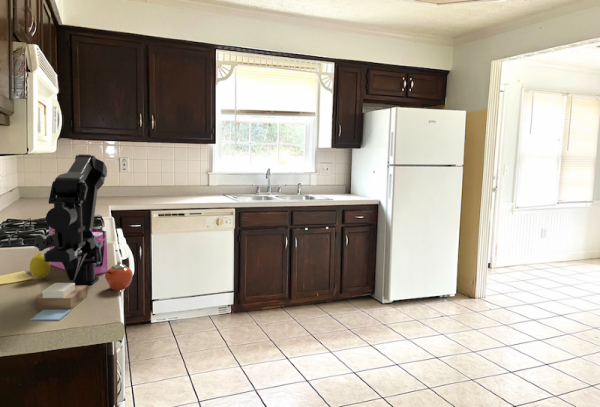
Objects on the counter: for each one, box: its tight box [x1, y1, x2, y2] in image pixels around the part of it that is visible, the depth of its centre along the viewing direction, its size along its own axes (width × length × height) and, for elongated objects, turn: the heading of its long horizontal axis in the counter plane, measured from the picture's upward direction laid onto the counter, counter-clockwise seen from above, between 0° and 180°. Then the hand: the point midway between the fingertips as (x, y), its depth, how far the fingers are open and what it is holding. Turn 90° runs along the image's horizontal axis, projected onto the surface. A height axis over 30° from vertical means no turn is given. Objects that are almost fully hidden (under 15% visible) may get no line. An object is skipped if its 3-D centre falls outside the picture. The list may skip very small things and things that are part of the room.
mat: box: [29, 310, 72, 322], centre depth 110 cm, size 6×6×1 cm
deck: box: [34, 285, 89, 311], centre depth 119 cm, size 11×8×3 cm
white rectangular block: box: [41, 282, 75, 298], centre depth 117 cm, size 7×5×2 cm
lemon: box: [29, 253, 52, 280], centre depth 139 cm, size 6×6×8 cm
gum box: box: [48, 226, 109, 276], centre depth 151 cm, size 24×8×14 cm, turn 55°
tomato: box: [104, 260, 134, 291], centre depth 132 cm, size 7×7×8 cm
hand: (72, 280), depth 125 cm, fingers closed
